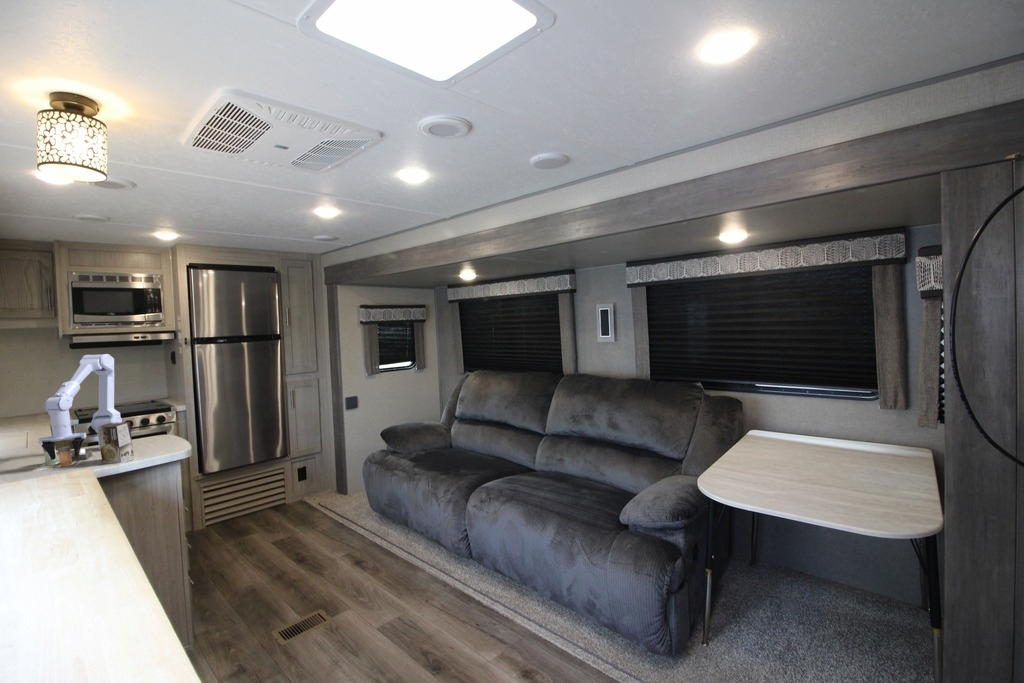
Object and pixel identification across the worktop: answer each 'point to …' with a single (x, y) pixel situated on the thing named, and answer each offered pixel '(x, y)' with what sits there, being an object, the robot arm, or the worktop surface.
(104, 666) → the worktop surface
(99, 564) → the worktop surface
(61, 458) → the orange jar
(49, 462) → the green jar
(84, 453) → the button
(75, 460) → the picture board
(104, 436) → the coffee box
